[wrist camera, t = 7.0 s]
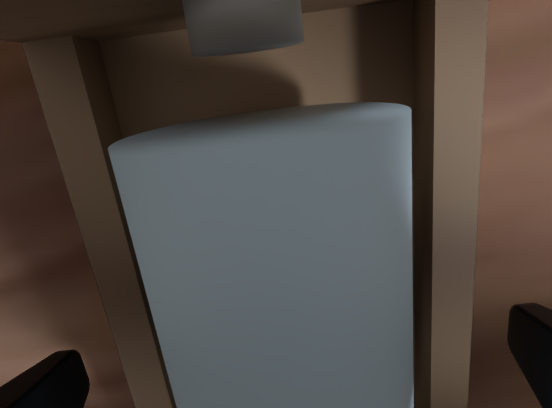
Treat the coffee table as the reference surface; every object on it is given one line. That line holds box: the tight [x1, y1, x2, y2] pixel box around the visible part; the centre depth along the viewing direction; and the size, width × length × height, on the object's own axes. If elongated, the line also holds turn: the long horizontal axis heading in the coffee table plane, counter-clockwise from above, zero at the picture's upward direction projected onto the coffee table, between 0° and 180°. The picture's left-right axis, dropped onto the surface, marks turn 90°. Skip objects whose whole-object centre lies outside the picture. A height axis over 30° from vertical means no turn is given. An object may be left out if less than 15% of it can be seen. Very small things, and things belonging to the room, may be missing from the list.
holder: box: [0, 0, 489, 408], centre depth 9 cm, size 15×9×5 cm, turn 7°
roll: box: [108, 102, 414, 408], centre depth 8 cm, size 9×5×5 cm, turn 7°
